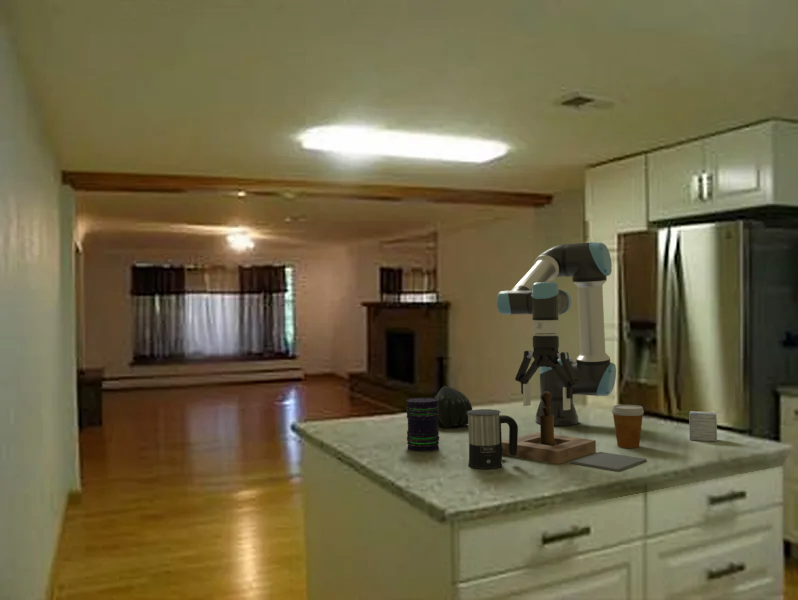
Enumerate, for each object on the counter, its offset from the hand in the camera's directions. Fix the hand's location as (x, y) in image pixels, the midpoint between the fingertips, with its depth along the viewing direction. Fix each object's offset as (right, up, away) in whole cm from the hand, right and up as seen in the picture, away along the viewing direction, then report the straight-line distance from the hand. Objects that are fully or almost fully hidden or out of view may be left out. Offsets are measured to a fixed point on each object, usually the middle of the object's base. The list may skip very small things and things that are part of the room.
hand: (546, 407), depth 207 cm
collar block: (0, -13, 0) cm, 13 cm away
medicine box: (+53, -13, +16) cm, 56 cm away
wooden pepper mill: (0, -14, 0) cm, 14 cm away
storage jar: (-36, -14, +9) cm, 40 cm away
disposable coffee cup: (+26, -13, +8) cm, 31 cm away
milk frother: (-19, -14, -10) cm, 25 cm away
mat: (+14, -13, -12) cm, 23 cm away
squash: (-24, -14, +48) cm, 55 cm away
